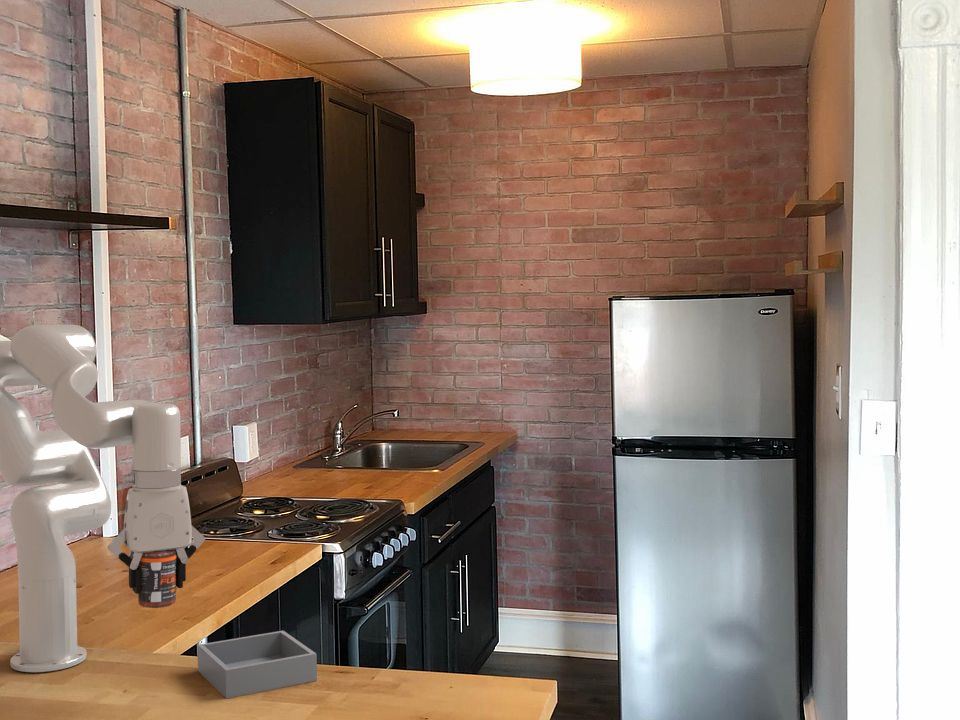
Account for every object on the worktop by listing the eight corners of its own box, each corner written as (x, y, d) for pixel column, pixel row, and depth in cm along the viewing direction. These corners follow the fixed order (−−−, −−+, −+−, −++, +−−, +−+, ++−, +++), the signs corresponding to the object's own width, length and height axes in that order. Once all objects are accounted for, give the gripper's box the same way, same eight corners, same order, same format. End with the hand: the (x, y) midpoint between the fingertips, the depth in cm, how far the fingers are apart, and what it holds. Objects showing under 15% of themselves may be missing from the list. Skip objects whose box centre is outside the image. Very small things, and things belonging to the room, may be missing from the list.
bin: (198, 671, 179) (197, 644, 179) (283, 655, 188) (283, 630, 187) (226, 698, 166) (225, 670, 166) (316, 680, 174) (316, 653, 174)
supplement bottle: (165, 610, 165) (164, 540, 165) (131, 608, 167) (130, 538, 166) (183, 600, 171) (182, 532, 171) (150, 598, 172) (149, 530, 172)
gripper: (106, 487, 160) (107, 601, 161) (216, 478, 169) (216, 587, 170) (96, 480, 167) (97, 590, 168) (202, 472, 176) (203, 577, 177)
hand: (157, 588), depth 169 cm, fingers closed on supplement bottle, 6 cm apart
